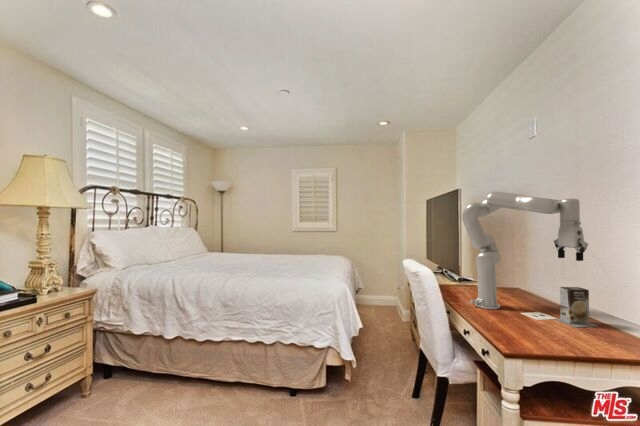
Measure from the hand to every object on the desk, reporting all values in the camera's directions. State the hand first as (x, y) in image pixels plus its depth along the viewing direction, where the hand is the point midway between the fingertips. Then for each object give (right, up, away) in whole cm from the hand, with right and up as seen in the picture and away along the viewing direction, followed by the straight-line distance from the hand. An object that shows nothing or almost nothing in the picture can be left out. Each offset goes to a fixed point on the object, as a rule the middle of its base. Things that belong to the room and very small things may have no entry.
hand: (570, 259), depth 149 cm
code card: (-9, -31, +9) cm, 33 cm away
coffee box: (+1, -30, -2) cm, 30 cm away
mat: (+1, -30, -2) cm, 30 cm away
